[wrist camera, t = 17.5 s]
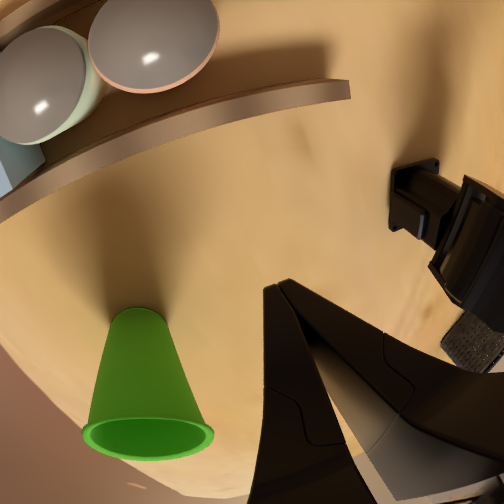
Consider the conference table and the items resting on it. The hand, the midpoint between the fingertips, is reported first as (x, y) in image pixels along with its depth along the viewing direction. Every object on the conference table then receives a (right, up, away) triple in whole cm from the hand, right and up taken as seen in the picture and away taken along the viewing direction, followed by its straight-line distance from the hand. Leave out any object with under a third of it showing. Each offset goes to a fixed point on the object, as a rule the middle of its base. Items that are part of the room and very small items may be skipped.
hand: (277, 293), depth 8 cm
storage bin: (+54, -11, +43) cm, 70 cm away
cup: (-11, -5, +15) cm, 19 cm away
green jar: (-12, +11, +3) cm, 17 cm away
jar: (-6, +13, +4) cm, 15 cm away
